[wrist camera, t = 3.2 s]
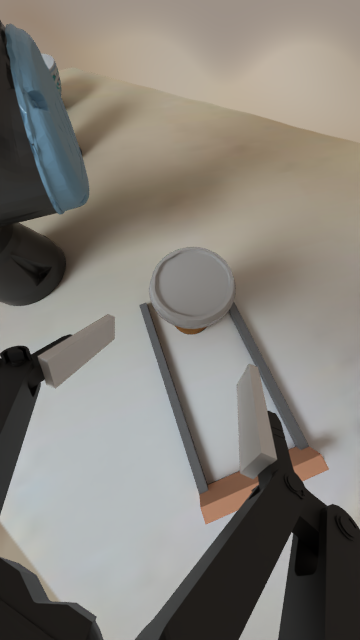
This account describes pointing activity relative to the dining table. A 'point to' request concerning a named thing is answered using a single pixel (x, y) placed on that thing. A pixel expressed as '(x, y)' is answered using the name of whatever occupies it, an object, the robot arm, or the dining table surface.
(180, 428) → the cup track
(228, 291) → the disposable coffee cup
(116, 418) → the dining table surface
